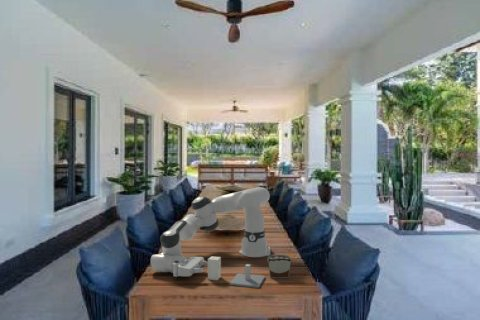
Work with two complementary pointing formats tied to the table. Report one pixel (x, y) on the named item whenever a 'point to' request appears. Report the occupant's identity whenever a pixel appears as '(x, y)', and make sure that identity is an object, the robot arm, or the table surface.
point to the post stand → (247, 279)
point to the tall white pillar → (214, 268)
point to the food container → (279, 266)
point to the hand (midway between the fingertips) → (206, 267)
